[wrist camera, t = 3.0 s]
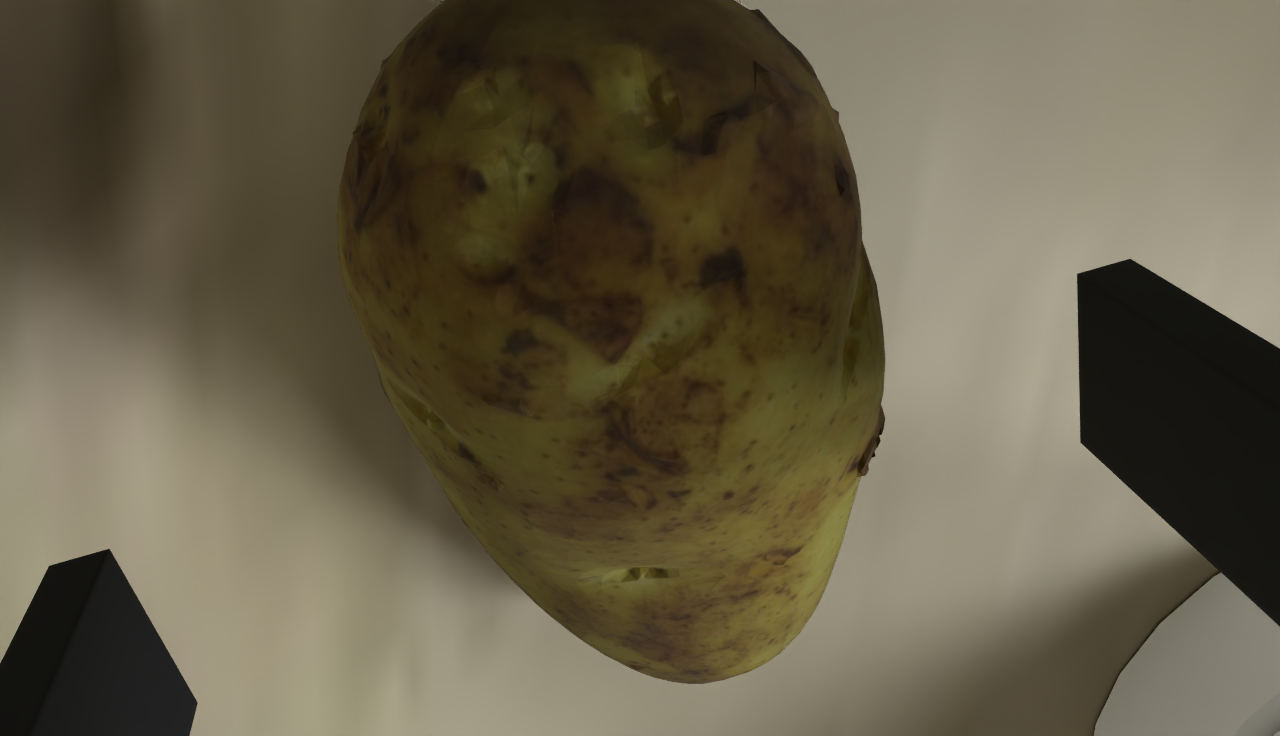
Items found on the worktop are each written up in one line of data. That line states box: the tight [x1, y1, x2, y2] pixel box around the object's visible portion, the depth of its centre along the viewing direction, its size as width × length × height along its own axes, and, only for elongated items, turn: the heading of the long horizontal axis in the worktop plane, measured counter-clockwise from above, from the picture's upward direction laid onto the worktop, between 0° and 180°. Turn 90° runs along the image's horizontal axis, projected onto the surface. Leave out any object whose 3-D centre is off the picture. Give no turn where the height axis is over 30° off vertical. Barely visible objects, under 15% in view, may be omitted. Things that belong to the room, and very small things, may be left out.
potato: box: [337, 0, 885, 684], centre depth 16 cm, size 8×13×8 cm, turn 175°
